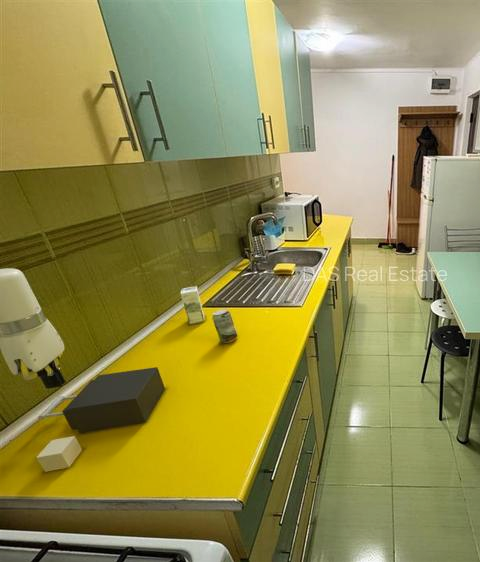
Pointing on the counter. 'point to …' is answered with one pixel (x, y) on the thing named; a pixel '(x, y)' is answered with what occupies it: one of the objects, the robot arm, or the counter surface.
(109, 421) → the dark grey drawer box
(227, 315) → the beverage can
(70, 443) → the block
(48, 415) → the dark grey drawer
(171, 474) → the counter surface
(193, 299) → the syrup box
